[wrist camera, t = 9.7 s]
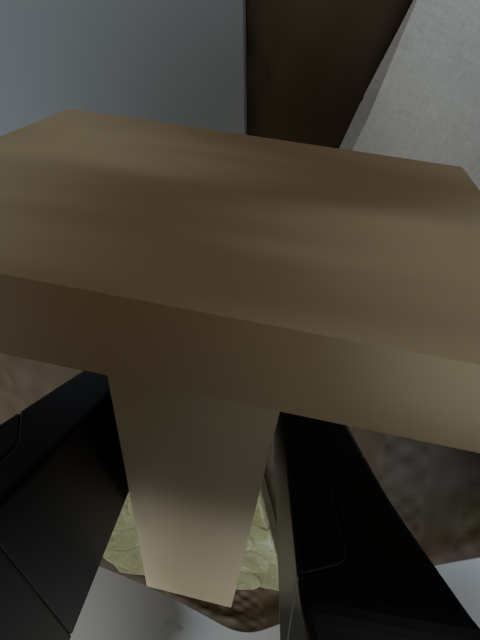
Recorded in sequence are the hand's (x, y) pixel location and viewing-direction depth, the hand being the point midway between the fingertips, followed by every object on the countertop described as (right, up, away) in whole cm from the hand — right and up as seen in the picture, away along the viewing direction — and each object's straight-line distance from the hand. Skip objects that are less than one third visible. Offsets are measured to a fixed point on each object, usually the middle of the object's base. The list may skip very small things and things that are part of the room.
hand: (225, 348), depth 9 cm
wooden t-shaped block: (0, -1, +2) cm, 2 cm away
